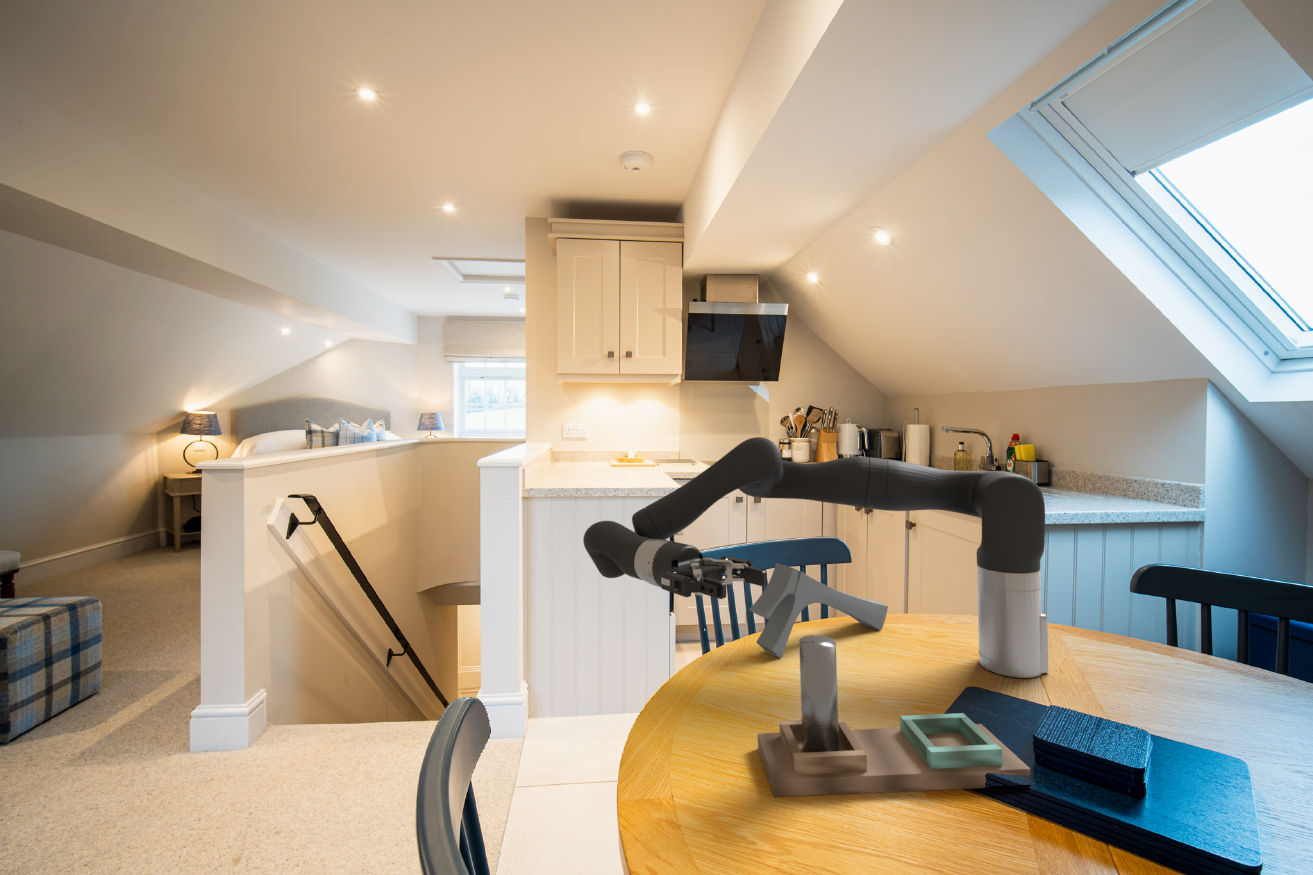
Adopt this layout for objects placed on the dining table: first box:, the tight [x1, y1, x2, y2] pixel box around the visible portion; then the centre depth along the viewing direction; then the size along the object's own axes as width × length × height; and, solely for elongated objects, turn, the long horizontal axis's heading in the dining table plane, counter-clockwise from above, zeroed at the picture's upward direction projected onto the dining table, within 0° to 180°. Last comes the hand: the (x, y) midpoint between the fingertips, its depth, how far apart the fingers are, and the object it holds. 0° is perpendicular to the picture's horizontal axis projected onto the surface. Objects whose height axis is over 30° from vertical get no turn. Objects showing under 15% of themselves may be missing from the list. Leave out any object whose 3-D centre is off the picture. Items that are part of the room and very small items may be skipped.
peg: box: [798, 634, 839, 753], centre depth 72 cm, size 4×4×14 cm
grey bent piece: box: [749, 562, 889, 659], centre depth 112 cm, size 6×17×30 cm
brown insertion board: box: [757, 712, 1032, 798], centre depth 72 cm, size 30×10×4 cm, turn 90°
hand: (745, 584), depth 80 cm, fingers open, 8 cm apart
